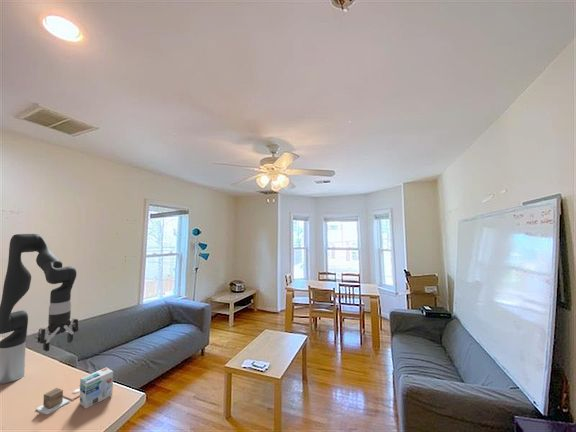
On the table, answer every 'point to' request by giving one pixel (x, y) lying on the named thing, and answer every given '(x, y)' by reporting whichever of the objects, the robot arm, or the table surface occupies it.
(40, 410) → the box tile
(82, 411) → the table surface
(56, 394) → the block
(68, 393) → the mug tile
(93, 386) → the light bulb box
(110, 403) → the table surface
